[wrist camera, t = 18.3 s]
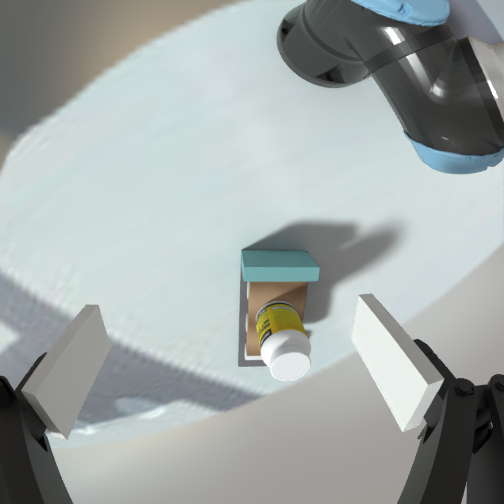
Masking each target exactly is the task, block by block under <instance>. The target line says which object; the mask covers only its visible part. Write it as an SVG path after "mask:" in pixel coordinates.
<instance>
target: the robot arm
mask: <svg viewBox="0 0 504 504" xmlns="http://www.w3.org/2000/svg"><path fill="white" fill-rule="evenodd" d="M449 14H450V4H449V2H448V1H447V0H307V1H306V2H305V3H303V4H301V5H299V6H297V7H296V8H294V9H292V10H291V11H290V12H288V13H287V15H286V16H285V17H284V18H283V20H282V22H281V24H280V26H279V29H278V32H277V46H278V49H279V52H280V54H281V56H282V58H283V60H284V61H285V63H286V64H287V65H288V66H289V68H290V69H291V70H292V71H294V72H295V73H296V74H297V75H298V76H300V77H301V78H303V79H305V80H306V81H308V82H311V83H313V84H315V85H319V86H322V87H328V88H341V87H346V86H349V85H352V84H354V83H355V82H357V81H359V80H361V79H362V78H364V77H365V76H366V75H367V74H368V72H370V73H371V75H372V77H373V78H374V80H375V81H376V83H377V84H378V86H379V87H380V89H381V91H382V92H383V94H384V95H385V97H386V99H387V100H388V102H389V104H390V105H391V107H392V109H393V111H394V112H395V114H396V116H397V118H398V119H399V121H400V123H401V125H402V127H403V129H404V133H405V136H406V137H407V138H408V139H409V140H410V141H411V143H412V145H413V146H414V148H415V150H416V152H417V154H418V156H419V157H420V159H421V160H422V161H423V162H424V163H425V164H427V165H428V166H430V167H431V168H432V169H434V170H437V171H440V172H444V173H449V174H471V173H477V172H481V171H484V170H487V166H490V167H494V166H496V165H497V164H499V163H500V162H501V161H502V159H503V158H504V42H502V43H499V44H495V45H488V44H486V43H484V42H483V41H481V40H479V39H477V38H474V37H472V36H469V37H466V38H464V39H461V40H457V39H456V38H455V36H454V34H453V33H452V31H451V30H450V28H449V27H448V25H447V24H446V20H447V19H448V16H449ZM452 36H453V37H452ZM437 42H438V43H437ZM425 47H426V48H425ZM418 50H419V51H418ZM416 51H417V52H416ZM409 54H410V55H409ZM407 55H408V56H407ZM405 56H406V57H405ZM396 60H397V61H396ZM394 61H395V62H394ZM392 62H393V63H392ZM390 63H391V64H390ZM388 64H389V65H388ZM386 65H387V66H386ZM384 66H385V67H384ZM382 67H383V68H382ZM380 68H381V69H380ZM378 69H379V70H378ZM351 341H352V342H353V344H354V346H355V347H356V349H357V351H358V353H359V354H360V356H361V358H362V360H363V361H364V363H365V365H366V367H367V368H368V370H369V372H370V374H371V375H372V377H373V379H374V381H375V382H376V384H377V386H378V388H379V390H380V391H381V393H382V395H383V397H384V399H385V401H386V402H387V404H388V406H389V408H390V410H391V411H392V413H393V415H394V417H395V419H396V421H397V423H398V425H399V427H400V428H401V430H402V432H404V431H407V430H410V429H412V428H415V427H418V425H419V424H420V422H421V421H422V419H423V417H424V419H425V420H426V422H427V424H426V426H425V427H424V429H423V430H422V432H421V433H420V435H419V436H418V439H420V438H421V436H422V438H421V441H420V445H419V448H418V451H417V454H416V457H415V460H414V463H413V466H412V468H411V471H410V474H409V476H408V479H407V482H406V484H405V487H404V489H403V491H402V494H401V496H400V498H399V500H398V503H397V504H461V501H462V497H463V494H464V490H465V486H466V482H467V504H504V375H501V374H496V375H494V376H492V377H491V379H490V381H489V382H488V384H487V385H480V386H475V385H474V384H473V383H472V382H471V381H469V380H467V379H464V378H458V379H456V378H455V377H454V375H453V374H452V373H451V372H450V371H449V369H448V368H447V367H446V366H445V365H444V363H443V362H442V361H441V360H440V359H438V357H437V355H436V354H435V353H433V351H432V349H431V348H430V347H429V346H428V345H427V344H426V343H424V342H422V341H421V340H419V339H416V340H412V339H411V338H410V336H409V335H408V334H407V333H406V332H405V331H404V329H403V328H402V327H401V326H400V325H399V324H398V322H397V321H396V320H395V319H394V318H393V317H392V316H391V314H390V313H389V312H388V311H387V310H386V309H385V308H384V307H383V305H382V304H381V303H380V302H379V301H378V300H377V299H376V298H375V297H374V295H373V294H363V295H359V296H358V302H357V308H356V314H355V320H354V325H353V330H352V336H351ZM111 348H112V347H111V345H110V342H109V339H108V336H107V333H106V329H105V326H104V323H103V320H102V316H101V313H100V310H99V306H98V305H85V307H84V308H83V309H82V310H81V311H80V313H79V314H78V315H77V316H76V317H75V319H74V320H73V321H72V322H71V324H70V325H69V326H68V327H67V329H66V330H65V331H64V332H63V334H62V335H61V336H60V337H59V339H58V340H57V341H56V343H55V344H54V345H53V346H52V348H51V349H50V350H49V352H48V353H47V352H46V353H44V354H43V355H42V356H40V357H39V358H38V359H37V360H36V361H35V363H34V364H33V367H31V368H30V370H29V372H27V374H26V375H25V377H24V378H23V379H22V381H21V382H20V384H19V385H18V386H17V388H16V389H15V391H14V390H13V388H12V386H11V385H10V383H9V381H8V380H7V378H5V377H4V376H0V504H73V502H72V500H71V498H70V496H69V494H68V492H67V489H66V487H65V485H64V482H63V480H62V478H61V475H60V473H59V470H58V467H57V465H56V462H55V459H54V456H53V453H52V450H51V447H50V444H49V441H48V438H47V436H46V434H45V433H44V432H45V430H46V428H47V429H48V430H49V431H50V433H51V434H52V435H53V436H55V437H58V438H61V439H64V440H67V439H68V437H69V434H70V432H71V430H72V427H73V425H74V423H75V421H76V419H77V416H78V414H79V412H80V410H81V408H82V406H83V403H84V401H85V399H86V397H87V395H88V393H89V391H90V389H91V387H92V385H93V383H94V381H95V379H96V377H97V375H98V373H99V371H100V369H101V367H102V365H103V363H104V361H105V359H106V358H107V356H108V354H109V352H110V350H111ZM491 422H492V425H493V428H492V426H491Z"/></svg>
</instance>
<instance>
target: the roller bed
mask: <svg viewBox="0 0 504 504" xmlns="http://www.w3.org/2000/svg"><path fill="white" fill-rule="evenodd" d="M319 270H320V267H319V266H318V265H317V263H316V262H315V261H314V260H313V258H312V257H311V256H310V255H309V254H308V252H307V251H274V250H241V280H240V315H239V356H238V366H239V367H248V366H267V365H266V364H265V363H264V361H263V359H262V356H247V352H246V340H247V316H248V292H249V282H297V281H318V278H319Z"/></svg>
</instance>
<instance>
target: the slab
mask: <svg viewBox="0 0 504 504" xmlns="http://www.w3.org/2000/svg"><path fill="white" fill-rule="evenodd" d="M307 283H308V281H297V282H249V292H248V316H247V340H246V352H247V356H261V352H260V345H259V340H258V334H257V328H256V316H257V313H258V311H259V310H260V309H261V308H262V307H263V306H264V305H265V304H267V303H269V302H272V301H285V302H288V303H290V304H291V305H292V306H293V307H294V308H295V309H296V311H297V313H298V315H299V317H300V320H301V322H302V320H303V313H304V306H305V299H306V291H307Z"/></svg>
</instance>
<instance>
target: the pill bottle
mask: <svg viewBox="0 0 504 504" xmlns="http://www.w3.org/2000/svg"><path fill="white" fill-rule="evenodd" d="M256 328H257V334H258V340H259V345H260V352H261V356H262V359H263V361H264V363H265V364H266V365H267V366H269V367H270V370H271V373H272V375H273V376H274V377H275V378H276V379H278V380H281V381H293V380H297V379H299V378H301V377H302V376H304V375H305V374H306V373H307V372H308V370H309V368H310V365H311V361H310V358H309V354H310V351H311V345H310V341H309V338H308V336H307V334H306V331H305V329H304V327H303V324H302V322H301V320H300V317H299V315H298V313H297V311H296V309H295V308H294V307H293V306H292V305H291V304H290V303H288V302H285V301H272V302H269V303H267V304H265V305H264V306H263V307H262V308H261V309H260V310H259V311H258V313H257V316H256Z"/></svg>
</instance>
